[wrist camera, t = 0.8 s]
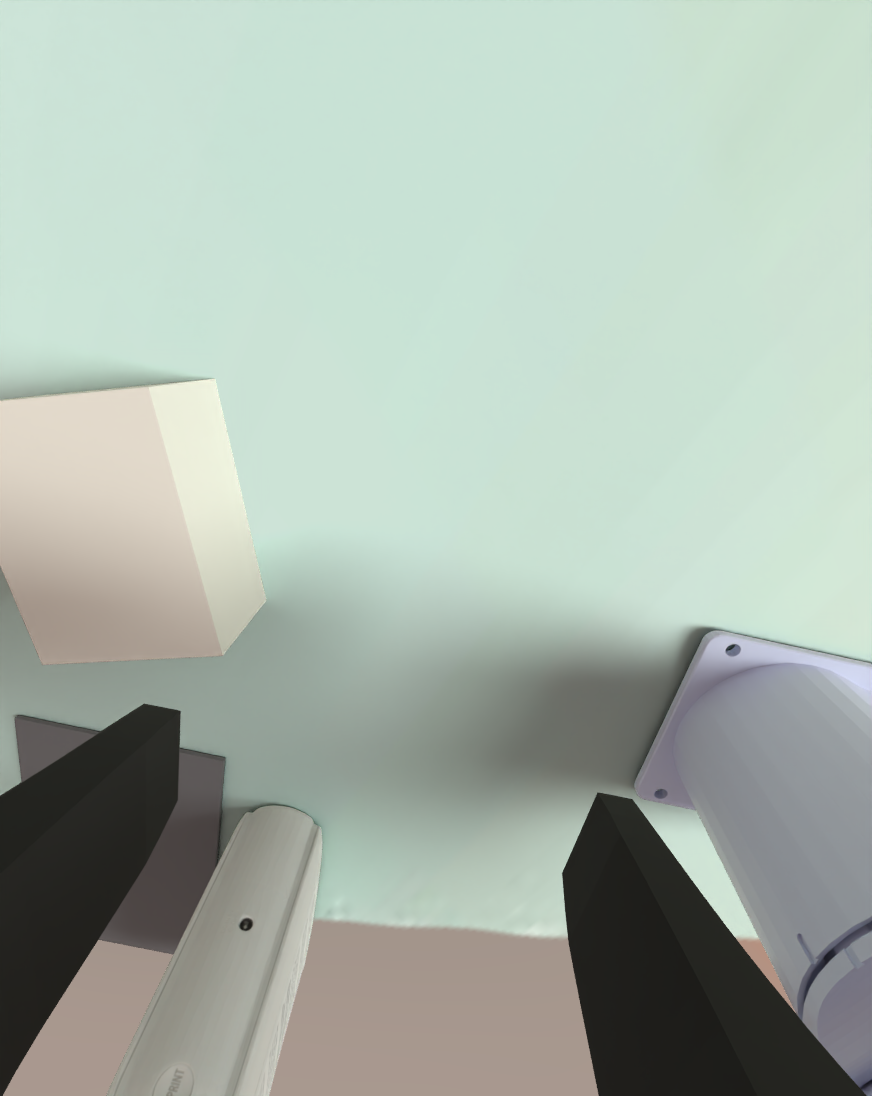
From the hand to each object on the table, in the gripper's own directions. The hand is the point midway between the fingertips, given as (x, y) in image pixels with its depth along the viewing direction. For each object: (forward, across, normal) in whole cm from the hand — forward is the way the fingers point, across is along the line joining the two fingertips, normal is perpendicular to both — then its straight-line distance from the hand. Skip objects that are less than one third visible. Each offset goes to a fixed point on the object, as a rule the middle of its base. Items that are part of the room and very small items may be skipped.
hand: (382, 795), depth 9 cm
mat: (+10, +11, +18) cm, 24 cm away
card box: (+11, +10, 0) cm, 14 cm away
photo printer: (+11, +4, +18) cm, 21 cm away
